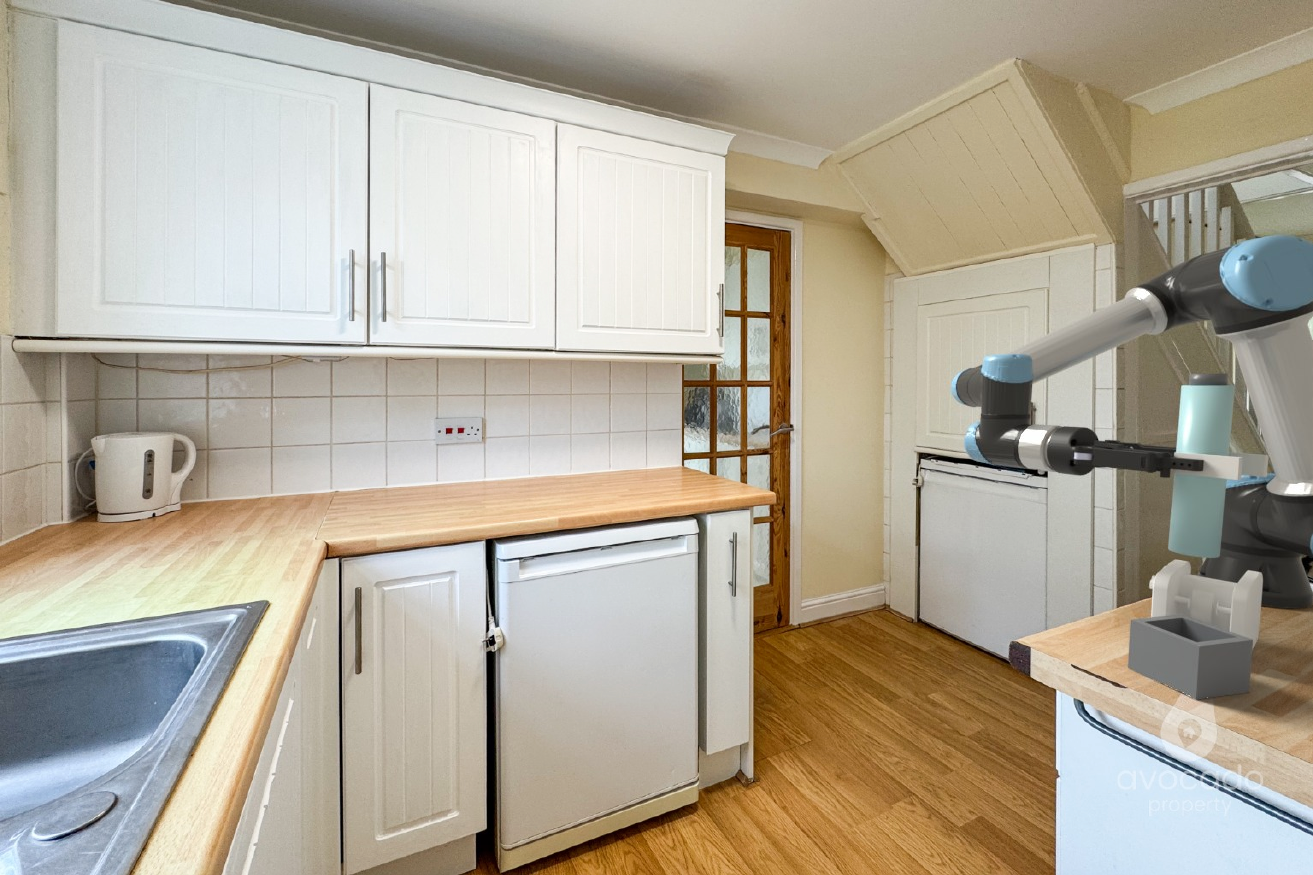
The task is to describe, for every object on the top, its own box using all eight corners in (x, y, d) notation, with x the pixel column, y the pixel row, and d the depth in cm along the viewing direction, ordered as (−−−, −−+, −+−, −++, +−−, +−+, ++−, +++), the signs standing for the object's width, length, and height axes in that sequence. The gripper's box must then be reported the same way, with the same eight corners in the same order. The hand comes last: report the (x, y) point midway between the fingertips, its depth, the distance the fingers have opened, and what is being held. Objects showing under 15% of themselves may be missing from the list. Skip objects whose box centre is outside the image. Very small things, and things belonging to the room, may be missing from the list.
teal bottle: (1187, 545, 79) (1202, 373, 77) (1230, 556, 74) (1247, 373, 72) (1158, 547, 78) (1172, 374, 76) (1199, 559, 73) (1215, 373, 71)
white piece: (1243, 675, 79) (1249, 592, 78) (1144, 648, 87) (1148, 573, 86) (1259, 644, 88) (1265, 569, 87) (1168, 622, 96) (1172, 554, 95)
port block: (1177, 661, 83) (1180, 614, 82) (1249, 691, 74) (1253, 639, 74) (1127, 667, 81) (1130, 619, 80) (1195, 699, 73) (1199, 646, 72)
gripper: (1095, 469, 95) (1290, 492, 74) (1019, 476, 89) (1207, 503, 67) (1098, 424, 95) (1295, 433, 73) (1021, 428, 88) (1212, 439, 67)
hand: (1252, 467), depth 70 cm, fingers closed on teal bottle, 5 cm apart
